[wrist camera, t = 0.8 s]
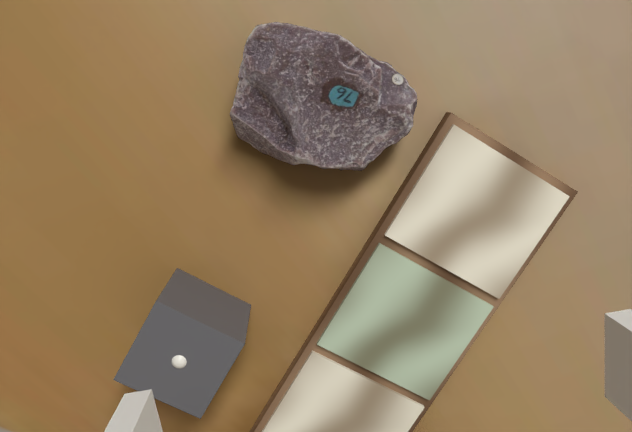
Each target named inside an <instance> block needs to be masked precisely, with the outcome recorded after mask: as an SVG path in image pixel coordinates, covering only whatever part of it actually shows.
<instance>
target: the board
mask: <svg viewBox="0 0 632 432" xmlns="http://www.w3.org/2000/svg"><path fill="white" fill-rule="evenodd" d="M576 194H577V191H576V190H574V189H572V188H571V187H569V186H568V185H566V184H564V183H563V182H561V181H560V180H558V179H556V178H555V177H553V176H552V175H550V174H548V173H547V172H545V171H544V170H542V169H541V168H539V167H537V166H536V165H534V164H533V163H531V162H529V161H528V160H526V159H525V158H523V157H521V156H520V155H518V154H517V153H515V152H513V151H512V150H510V149H509V148H507V147H505V146H504V145H502V144H501V143H499V142H497V141H496V140H494V139H493V138H491V137H489V136H488V135H486V134H485V133H483V132H481V131H480V130H478V129H477V128H475V127H473V126H472V125H470V124H469V123H467V122H465V121H464V120H462V119H461V118H459V117H457V116H456V115H454V114H453V113H449V112H446V114H445V115H444V117H443V119H442V120H441V122H440V124H439V125H438V127H437V128H436V130H435V132H434V133H433V135H432V137H431V138H430V140H429V141H428V143H427V145H426V146H425V148H424V150H423V151H422V153H421V154H420V156H419V158H418V159H417V161H416V162H415V164H414V166H413V167H412V169H411V171H410V172H409V174H408V175H407V177H406V179H405V180H404V182H403V184H402V185H401V187H400V188H399V190H398V192H397V193H396V195H395V197H394V198H393V200H392V201H391V203H390V205H389V206H388V208H387V210H386V211H385V213H384V214H383V216H382V218H381V219H380V221H379V223H378V224H377V226H376V227H375V229H374V231H373V232H372V234H371V236H370V237H369V239H368V240H367V242H366V244H365V245H364V247H363V248H362V250H361V252H360V253H359V255H358V257H357V258H356V260H355V261H354V263H353V265H352V266H351V268H350V270H349V271H348V273H347V274H346V276H345V278H344V279H343V281H342V283H341V284H340V286H339V287H338V289H337V291H336V292H335V294H334V296H333V297H332V299H331V300H330V302H329V304H328V305H327V307H326V309H325V310H324V312H323V313H322V315H321V317H320V318H319V320H318V322H317V323H316V325H315V326H314V328H313V330H312V331H311V333H310V334H309V336H308V338H307V339H306V341H305V343H304V344H303V346H302V347H301V349H300V351H299V352H298V354H297V356H296V357H295V359H294V360H293V362H292V364H291V365H290V367H289V369H288V370H287V372H286V373H285V375H284V377H283V378H282V380H281V382H280V383H279V385H278V386H277V388H276V390H275V391H274V393H273V395H272V396H271V398H270V399H269V401H268V403H267V404H266V406H265V408H264V409H263V411H262V412H261V414H260V416H259V417H258V419H257V420H256V422H255V424H254V425H253V427H252V429H251V430H250V432H412V431H413V430H414V429H415V427H416V426H417V424H418V423H419V421H420V420H421V418H422V417H423V415H424V414H425V413H426V411H427V410H428V408H429V407H430V405H431V404H432V402H433V401H434V400H435V398H436V397H437V395H438V394H439V392H440V391H441V389H442V388H443V387H444V385H445V384H446V382H447V381H448V379H449V378H450V376H451V375H452V373H453V372H454V371H455V369H456V368H457V366H458V365H459V363H460V362H461V360H462V359H463V358H464V356H465V355H466V353H467V352H468V350H469V349H470V347H471V346H472V344H473V343H474V342H475V340H476V339H477V337H478V336H479V334H480V333H481V331H482V330H483V329H484V327H485V326H486V324H487V323H488V321H489V320H490V318H491V317H492V316H493V314H494V313H495V311H496V310H497V308H498V307H499V305H500V304H501V302H502V301H503V300H504V298H505V297H506V295H507V294H508V292H509V291H510V289H511V288H512V287H513V285H514V284H515V282H516V281H517V279H518V278H519V276H520V275H521V273H522V272H523V271H524V269H525V268H526V266H527V265H528V263H529V262H530V260H531V259H532V258H533V256H534V255H535V253H536V252H537V250H538V249H539V247H540V246H541V244H542V243H543V242H544V240H545V239H546V237H547V236H548V234H549V233H550V231H551V230H552V229H553V227H554V226H555V224H556V223H557V221H558V220H559V218H560V217H561V216H562V214H563V213H564V211H565V210H566V208H567V207H568V205H569V204H570V202H571V201H572V200H573V198H574V197H575V195H576Z"/></svg>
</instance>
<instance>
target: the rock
mask: <svg viewBox="0 0 632 432" xmlns="http://www.w3.org/2000/svg"><path fill="white" fill-rule="evenodd" d="M238 77H239V83H238V86H237V91H236V95H235V99H234V104H233V107H232V109H231V112H230V116H231V120H232V121H233V125H234V128H235V131H236V134H237V136H238V137H239V138H240V139H241V140H243V141H246V142H248V143H249V144H251V145H252V146H253V147H254V148H256V149H257V150H258V151H260V152H262V153H263V154H268V155H270V156H271V157H274V158H276V159H278V160H281V161H283V162H287V163H289V164H292V165H297V164H309V165H315V166H317V167H319V168H322V169H327V168H332V169H339V170H358V171H362V170H363V169H365V168H366V167H367V166H368V164H369V163H370V162H371V161H373V160H374V159H375V158H376V157H377V156H379V155H380V154H381V153H382V151H383V150H384V149H385V148H387V147H389V146H391V145H392V144H395V143H397V142H398V141H399V140H400V139H402V138H403V137H405V136H406V135H407V134H408V133H409V132H410V130H411V128H412V127H413V115H414V111H415V108H416V105H417V94H416V92H415V90H414V89H413V88H412V87H410V86H409V84H408V81H407V80H406V78H405V77H404V76H403V75H401V74H400V73H398V72H397V71H396V70H394V69H393V68H392V66H391V65H390V64H389V63H387V62H383V61H378V60H376V59H374V58H372V57H370V56H368V55H367V54H366V53H364V52H363V51H362V50H360V49H359V48H357V47H355V46H354V45H353V44H352V43H351V42H350V41H349V40H347V39H345V38H343V37H342V36H341V35H337V34H333V33H329V32H321V31H317V30H313V29H310V28H307V27H302V26H297V25H292V24H288V23H279V22H274V23H268V24H261V25H257V26H256V27H255V28H254V29H253V31H252V33H251V34H250V35H249V37H248V39H247V41H246V44H245V48H244V52H243V61H242V63H241V66H240V71H239V75H238Z"/></svg>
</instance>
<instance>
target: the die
mask: <svg viewBox="0 0 632 432" xmlns="http://www.w3.org/2000/svg"><path fill="white" fill-rule="evenodd" d="M250 308H251V305H250V304H248V303H246V302H244V301H242V300H240V299H238V298H236V297H234V296H232V295H230V294H228V293H226V292H224V291H222V290H220V289H218V288H216V287H214V286H212V285H210V284H208V283H206V282H204V281H202V280H200V279H198V278H196V277H194V276H192V275H190V274H188V273H186V272H184V271H182V270H180V269H178V268H177V269H176V271H175V272H174V274H173V275H172V277H171V278H170V280H169V282H168V283H167V285H166V286H165V288H164V289H163V291H162V293H161V294H160V296H159V297H158V299H157V300H156V302H155V304H154V306H153V308H152V310H151V311H150V313H149V315H148V317H147V319H146V321H145V323H144V324H143V326H142V328H141V330H140V332H139V334H138V335H137V337H136V339H135V341H134V343H133V345H132V346H131V348H130V350H129V352H128V354H127V356H126V358H125V359H124V361H123V363H122V365H121V367H120V369H119V370H118V372H117V374H116V376H115V378H114V380H115V381H117V382H119V383H122V384H124V385H126V386H128V387H130V388H133V389H135V390H137V391H144V390H150V389H152V392H153V396H154V398H155V399H157V400H160V401H162V402H164V403H166V404H169V405H171V406H173V407H175V408H177V409H180V410H182V411H184V412H186V413H189V414H191V415H193V416H195V417H198V418H200V419H201V417H202V415H203V414H204V412H205V410H206V409H207V407H208V405H209V404H210V402H211V400H212V398H213V397H214V395H215V393H216V392H217V390H218V388H219V387H220V385H221V383H222V382H223V380H224V378H225V376H226V375H227V373H228V371H229V370H230V368H231V366H232V365H233V363H234V361H235V360H236V358H237V356H238V354H239V353H240V351H241V349H242V348H243V346H244V344H245V340H246V333H247V327H248V321H249V315H250Z"/></svg>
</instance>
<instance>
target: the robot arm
mask: <svg viewBox="0 0 632 432" xmlns="http://www.w3.org/2000/svg"><path fill="white" fill-rule="evenodd" d="M605 397H606V398H607V399H608V400H609V401H610V402H611V403H612V404H613V405H615V406H616V407H617V408H618V409H619V410H620V411H621V412H622V413H623V414H624V415H625V416H626V417H628V418H629V419H630V420H631V421H632V310H631V309H628V310H622V311H616V312H610V313H605ZM104 432H163V431H162V427H161V423H160V419H159V415H158V411H157V408H156V404H155V400H154V396H153V392H152V389H150V390H144V391H138V392H132V393H126V394H124V396H123V398H122V399H121V401H120V403H119V405H118V407H117V409H116V411H115V412H114V414H113V416H112V418H111V420H110V422H109V424H108V426H107V427H106V429H105V431H104Z"/></svg>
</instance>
